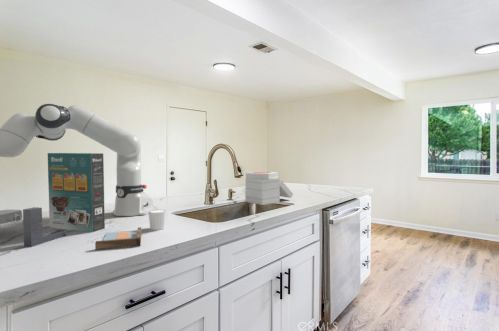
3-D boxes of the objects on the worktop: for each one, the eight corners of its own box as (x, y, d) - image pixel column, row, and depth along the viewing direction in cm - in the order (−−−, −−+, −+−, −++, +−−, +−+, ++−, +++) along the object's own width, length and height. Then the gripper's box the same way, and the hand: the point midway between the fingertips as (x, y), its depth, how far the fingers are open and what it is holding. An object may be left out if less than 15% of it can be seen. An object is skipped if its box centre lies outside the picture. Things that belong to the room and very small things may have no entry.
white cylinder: (161, 225, 124) (161, 208, 124) (169, 228, 119) (169, 211, 119) (145, 228, 119) (145, 211, 119) (153, 231, 114) (153, 213, 114)
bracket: (31, 246, 96) (30, 210, 95) (24, 246, 96) (22, 209, 96) (65, 235, 108) (64, 203, 108) (58, 235, 109) (57, 202, 108)
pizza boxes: (295, 200, 189) (295, 172, 188) (262, 206, 169) (262, 174, 168) (273, 196, 203) (273, 170, 202) (240, 201, 183) (240, 172, 182)
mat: (106, 233, 111) (106, 232, 111) (141, 230, 115) (141, 229, 115) (98, 249, 93) (98, 248, 93) (140, 245, 97) (140, 244, 97)
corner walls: (102, 237, 107) (102, 230, 107) (141, 234, 111) (141, 227, 111) (95, 250, 93) (95, 242, 93) (140, 245, 97) (140, 238, 97)
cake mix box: (104, 228, 119) (103, 153, 118) (92, 232, 113) (90, 153, 112) (63, 223, 126) (61, 153, 124) (49, 227, 120) (47, 153, 118)
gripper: (6, 221, 114) (34, 223, 111) (-61, 235, 94) (-29, 239, 91) (5, 204, 114) (34, 206, 110) (-62, 216, 94) (-29, 218, 90)
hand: (5, 221), depth 100 cm, fingers open, 8 cm apart
